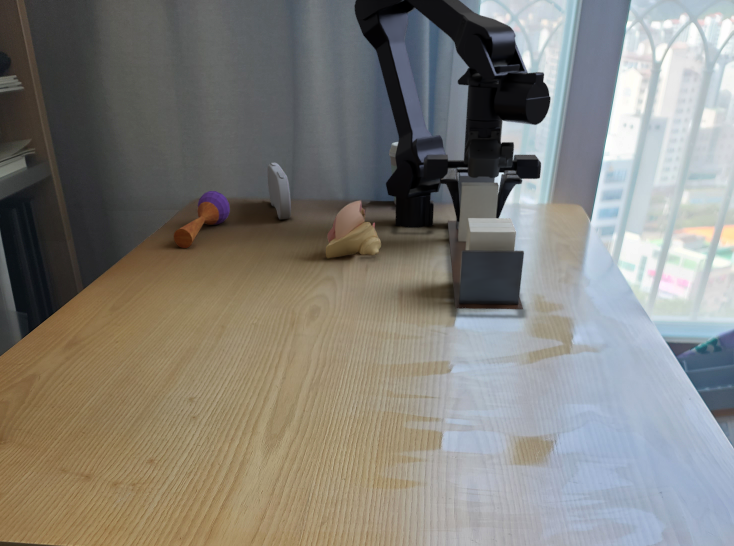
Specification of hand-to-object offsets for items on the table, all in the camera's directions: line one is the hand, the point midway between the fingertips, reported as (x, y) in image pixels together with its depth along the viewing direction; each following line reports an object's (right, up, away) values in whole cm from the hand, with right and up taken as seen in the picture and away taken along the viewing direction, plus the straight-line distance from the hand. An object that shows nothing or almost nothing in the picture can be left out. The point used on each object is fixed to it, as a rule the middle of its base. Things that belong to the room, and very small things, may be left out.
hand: (476, 221), depth 127 cm
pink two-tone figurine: (-21, -7, -2) cm, 23 cm away
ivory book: (0, -3, +2) cm, 3 cm away
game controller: (-36, +11, +25) cm, 45 cm away
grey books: (+1, +3, +9) cm, 10 cm away
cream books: (-2, -18, -21) cm, 27 cm away
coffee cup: (-10, +12, +26) cm, 31 cm away
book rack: (-1, -9, -7) cm, 11 cm away
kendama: (-49, +2, +11) cm, 50 cm away
